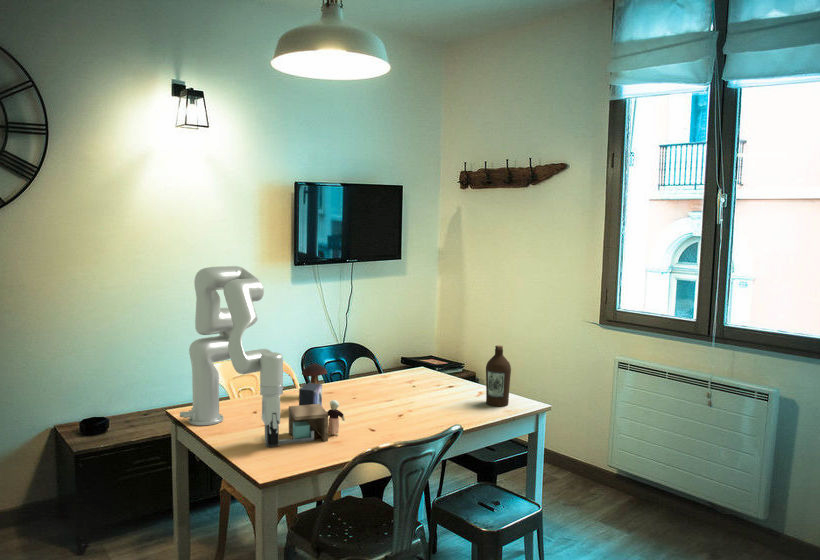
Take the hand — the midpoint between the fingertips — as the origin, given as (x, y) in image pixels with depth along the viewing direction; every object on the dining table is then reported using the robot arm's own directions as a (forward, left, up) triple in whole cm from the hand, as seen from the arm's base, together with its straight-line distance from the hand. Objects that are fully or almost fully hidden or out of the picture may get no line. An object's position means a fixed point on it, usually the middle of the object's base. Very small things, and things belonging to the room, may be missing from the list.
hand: (271, 441), depth 217 cm
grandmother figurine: (+23, +4, -1) cm, 23 cm away
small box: (+21, +34, -1) cm, 40 cm away
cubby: (+13, +4, -1) cm, 14 cm away
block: (+11, +4, -1) cm, 12 cm away
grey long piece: (+6, +1, -1) cm, 6 cm away
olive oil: (+99, +22, -1) cm, 101 cm away
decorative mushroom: (+27, +54, -1) cm, 60 cm away
